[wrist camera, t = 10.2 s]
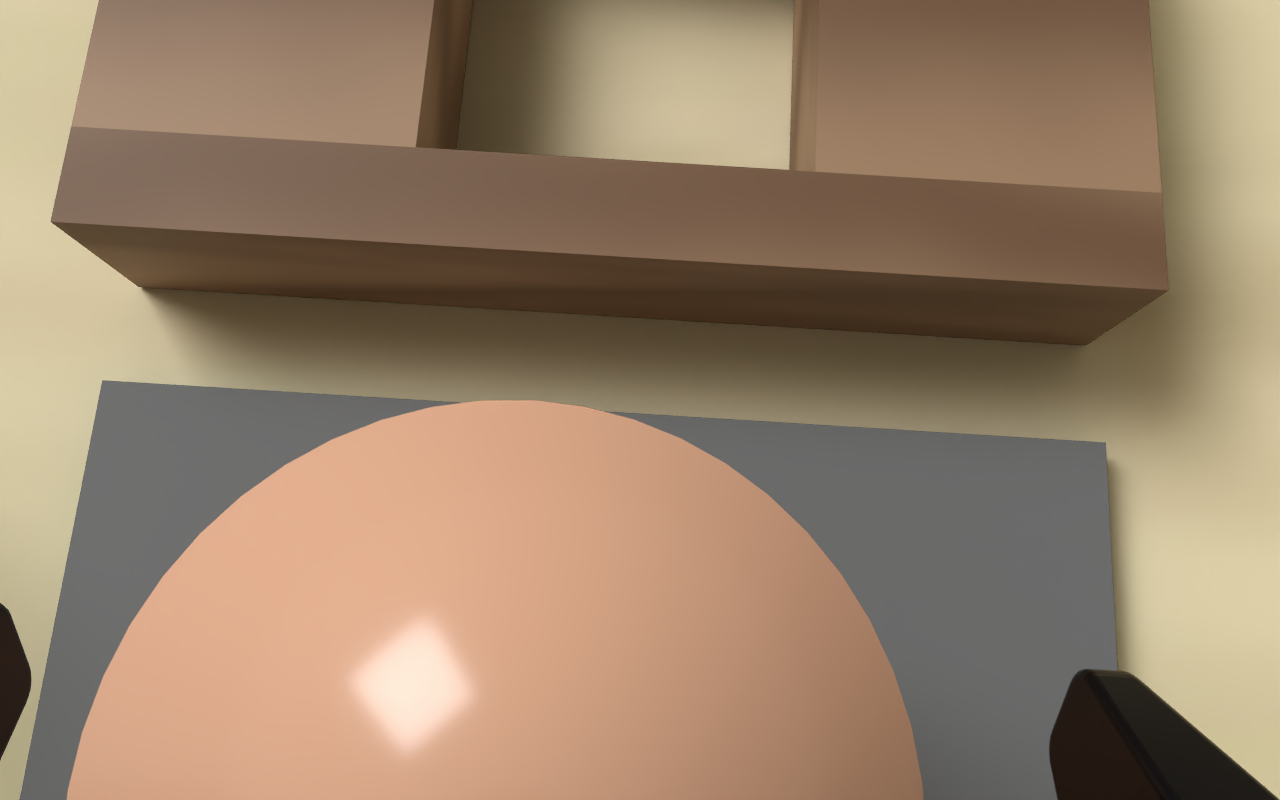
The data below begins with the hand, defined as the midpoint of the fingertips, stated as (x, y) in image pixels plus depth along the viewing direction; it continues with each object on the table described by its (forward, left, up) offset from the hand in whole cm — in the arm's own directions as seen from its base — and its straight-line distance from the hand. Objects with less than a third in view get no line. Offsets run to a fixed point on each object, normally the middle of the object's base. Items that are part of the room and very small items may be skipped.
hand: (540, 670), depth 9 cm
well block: (+10, +6, -9) cm, 15 cm away
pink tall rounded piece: (-1, 0, -9) cm, 9 cm away
